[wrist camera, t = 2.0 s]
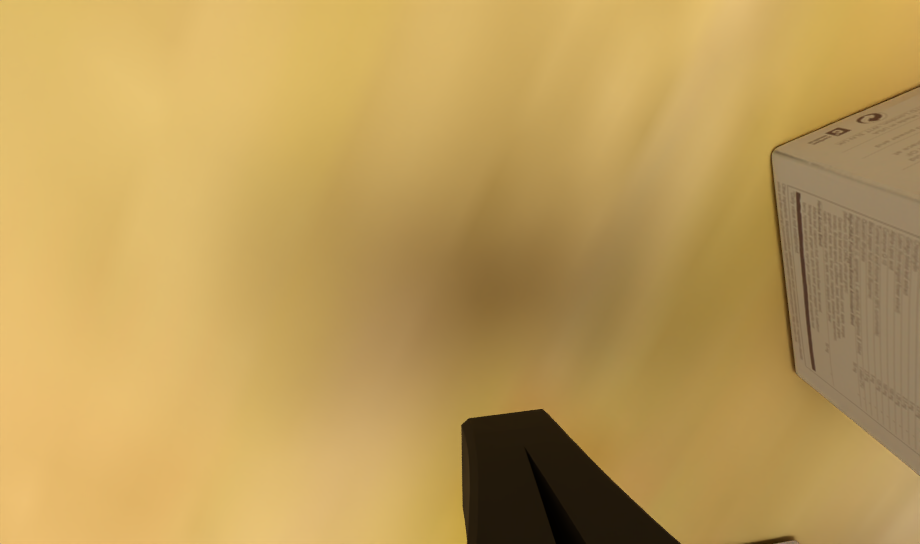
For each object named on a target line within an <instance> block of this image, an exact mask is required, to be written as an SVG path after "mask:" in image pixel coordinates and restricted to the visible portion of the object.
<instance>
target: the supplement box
mask: <svg viewBox="0 0 920 544" xmlns="http://www.w3.org/2000/svg"><path fill="white" fill-rule="evenodd" d="M772 166H773V175H774V184H775V192H776V201H777V210H778V218H779V227H780V236H781V245H782V254H783V263H784V272H785V281H786V290H787V298H788V307H789V316H790V324H791V333H792V342H793V351H794V360H795V368H796V373H797V375H798V376H799V377H800V378H802V379H803V380H804V381H805V382H807V383H808V384H809V385H810V386H811V387H813V388H814V389H815V390H816V391H818V392H819V393H820V394H821V395H822V396H824V397H825V398H826V399H827V400H828V401H830V402H831V403H832V404H833V405H834V406H835V407H837V408H838V409H839V410H840V411H842V412H843V413H844V414H845V415H847V416H848V417H849V418H850V419H852V420H853V421H854V422H855V423H856V424H858V425H859V426H860V427H861V428H862V429H864V430H865V431H866V432H867V433H868V434H870V435H871V436H872V437H873V438H875V439H876V440H877V441H878V442H880V443H881V444H882V445H883V446H884V447H886V448H887V449H888V450H889V451H890V452H892V453H893V454H894V455H895V456H896V457H898V458H899V459H900V460H901V461H903V462H904V463H905V464H906V465H908V466H909V467H910V468H911V469H912V470H914V471H915V472H916V473H917V474H918V475H919V476H920V87H918V88H916V89H913V90H911V91H909V92H906V93H904V94H902V95H900V96H897V97H895V98H892V99H890V100H888V101H885V102H883V103H880V104H878V105H876V106H873V107H871V108H868V109H866V110H864V111H861V112H859V113H856V114H854V115H852V116H849V117H847V118H845V119H842V120H840V121H838V122H835V123H833V124H830V125H828V126H826V127H823V128H821V129H819V130H816V131H814V132H812V133H809V134H807V135H805V136H802V137H800V138H797V139H795V140H793V141H790V142H788V143H786V144H784V145H782V146H779V147H777V148H776V149H775V150H774V151H773V153H772Z"/></svg>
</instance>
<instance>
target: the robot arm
mask: <svg viewBox="0 0 920 544" xmlns="http://www.w3.org/2000/svg"><path fill="white" fill-rule="evenodd" d="M461 428H462V491H463V512H464V518H465V525H466V534H467V544H681V543H680V542H678V541H677V540H676V539H675V538H674V537H673V536H671V535H670V534H669V533H668V532H667V531H666V530H665V529H664V528H663V527H661V526H660V525H659V524H658V523H657V522H656V521H655V520H654V519H653V518H651V517H650V516H649V515H648V514H647V513H646V512H645V511H644V510H643V509H642V508H641V507H640V506H639V505H638V504H637V503H636V502H634V501H633V500H632V499H631V498H630V497H629V496H628V495H627V494H626V493H625V492H624V491H623V490H622V489H621V488H620V487H619V486H618V485H616V484H615V483H614V482H613V481H612V480H611V479H610V478H609V477H608V476H607V475H606V474H605V473H604V472H603V471H602V470H601V469H600V468H599V467H598V466H597V465H596V464H595V463H594V462H593V461H592V460H591V459H590V458H589V457H588V455H587V454H586V453H585V452H584V451H583V450H582V449H581V448H580V447H579V446H578V445H577V444H576V443H575V442H574V441H573V440H572V439H571V438H570V437H569V436H568V435H567V434H566V433H565V431H564V430H563V429H562V428H561V427H560V426H559V425H558V424H557V423H556V422H555V421H554V420H553V419H552V418H551V417H550V416H549V414H547V413H546V412H545V411H544V410H543V409H538V410H531V411H523V412H515V413H507V414H500V415H492V416H484V417H477V418H469V419H467V420H466V421H465V422H464V423H463V424H462V425H461ZM775 544H799V543H798V542H797V541H786V542H781V543H775Z"/></svg>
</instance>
